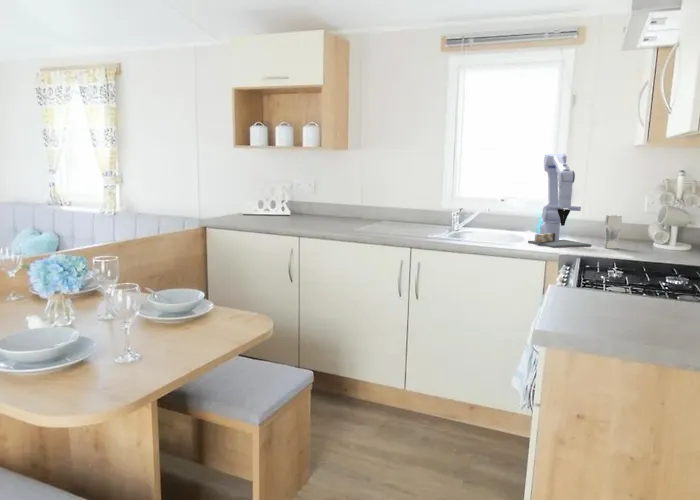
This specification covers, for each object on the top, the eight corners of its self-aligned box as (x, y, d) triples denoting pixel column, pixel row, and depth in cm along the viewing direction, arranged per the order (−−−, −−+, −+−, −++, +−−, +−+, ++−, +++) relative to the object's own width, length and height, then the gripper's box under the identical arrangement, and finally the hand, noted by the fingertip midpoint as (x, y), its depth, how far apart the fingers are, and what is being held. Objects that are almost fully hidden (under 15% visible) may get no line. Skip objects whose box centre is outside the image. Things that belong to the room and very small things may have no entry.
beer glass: (610, 249, 250) (613, 216, 248) (599, 247, 257) (602, 215, 255) (622, 249, 252) (625, 216, 250) (612, 247, 259) (614, 215, 257)
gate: (551, 239, 271) (551, 232, 271) (555, 240, 270) (556, 233, 269) (535, 242, 260) (536, 234, 260) (540, 242, 259) (540, 235, 258)
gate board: (527, 242, 268) (528, 232, 268) (564, 241, 276) (564, 232, 275) (553, 247, 252) (554, 237, 251) (591, 246, 259) (592, 236, 259)
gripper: (547, 196, 259) (545, 225, 261) (580, 197, 253) (578, 227, 255) (549, 195, 265) (547, 224, 267) (582, 197, 259) (579, 225, 261)
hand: (562, 225), depth 261 cm, fingers closed
